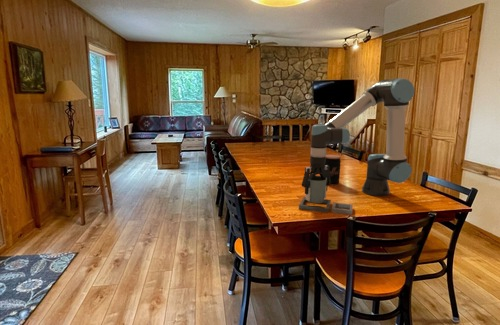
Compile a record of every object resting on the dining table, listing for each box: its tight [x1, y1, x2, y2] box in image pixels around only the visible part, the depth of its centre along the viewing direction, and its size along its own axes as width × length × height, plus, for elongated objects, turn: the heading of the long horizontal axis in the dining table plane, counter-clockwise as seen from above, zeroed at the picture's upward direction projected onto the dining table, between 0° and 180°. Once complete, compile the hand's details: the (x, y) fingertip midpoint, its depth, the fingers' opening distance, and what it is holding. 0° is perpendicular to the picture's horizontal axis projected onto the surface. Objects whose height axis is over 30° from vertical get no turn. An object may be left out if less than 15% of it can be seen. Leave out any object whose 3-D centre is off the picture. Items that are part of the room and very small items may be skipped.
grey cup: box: [308, 175, 327, 204], centre depth 160 cm, size 10×10×12 cm
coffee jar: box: [323, 154, 342, 186], centre depth 204 cm, size 11×11×18 cm
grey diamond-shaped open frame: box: [331, 202, 354, 216], centre depth 155 cm, size 9×9×2 cm
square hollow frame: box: [298, 196, 332, 214], centre depth 161 cm, size 14×14×2 cm
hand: (315, 198), depth 161 cm, fingers closed on grey cup, 9 cm apart
